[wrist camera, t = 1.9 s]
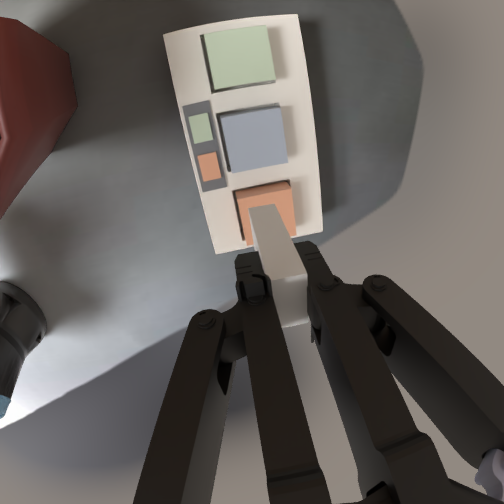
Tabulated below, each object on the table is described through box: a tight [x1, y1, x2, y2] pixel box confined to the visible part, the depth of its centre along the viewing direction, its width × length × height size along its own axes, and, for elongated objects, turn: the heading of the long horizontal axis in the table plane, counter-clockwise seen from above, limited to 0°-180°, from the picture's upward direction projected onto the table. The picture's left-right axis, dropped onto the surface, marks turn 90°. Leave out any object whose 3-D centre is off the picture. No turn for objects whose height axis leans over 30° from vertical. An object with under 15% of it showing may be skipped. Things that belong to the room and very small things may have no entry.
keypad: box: [163, 14, 323, 254], centre depth 32 cm, size 14×27×5 cm, turn 9°
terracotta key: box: [235, 181, 296, 246], centre depth 34 cm, size 6×6×2 cm
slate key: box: [220, 106, 288, 173], centre depth 29 cm, size 6×6×2 cm
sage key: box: [204, 25, 276, 90], centre depth 25 cm, size 6×6×2 cm
